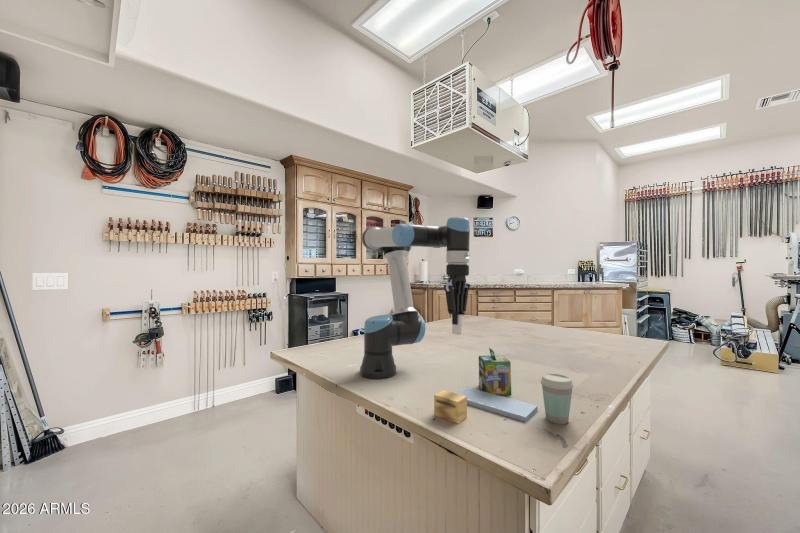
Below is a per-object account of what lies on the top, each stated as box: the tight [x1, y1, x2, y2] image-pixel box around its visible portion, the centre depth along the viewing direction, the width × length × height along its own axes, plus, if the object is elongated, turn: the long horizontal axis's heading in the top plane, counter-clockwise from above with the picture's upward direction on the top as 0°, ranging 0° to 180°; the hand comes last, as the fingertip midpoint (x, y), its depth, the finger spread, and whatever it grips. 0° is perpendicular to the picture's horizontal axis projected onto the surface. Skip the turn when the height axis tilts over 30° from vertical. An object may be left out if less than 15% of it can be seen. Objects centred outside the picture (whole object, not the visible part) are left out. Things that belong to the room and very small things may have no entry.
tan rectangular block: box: [433, 389, 468, 424], centre depth 94 cm, size 8×5×6 cm, turn 49°
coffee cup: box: [540, 372, 574, 425], centre depth 92 cm, size 8×8×12 cm
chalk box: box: [478, 347, 512, 396], centre depth 114 cm, size 9×9×15 cm
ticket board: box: [455, 386, 539, 423], centre depth 102 cm, size 24×10×2 cm, turn 49°
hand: (456, 333), depth 108 cm, fingers closed
